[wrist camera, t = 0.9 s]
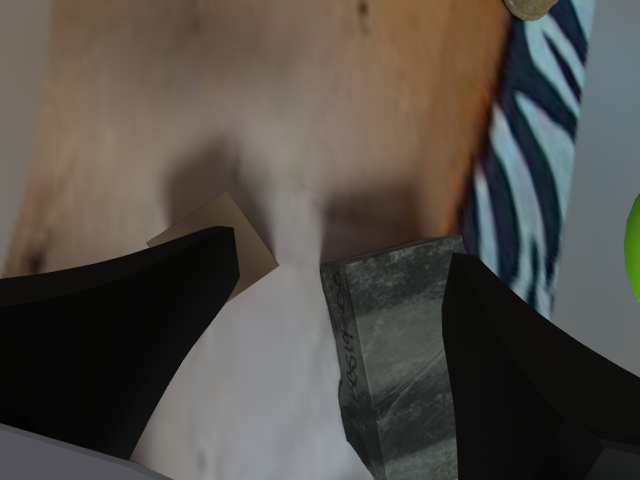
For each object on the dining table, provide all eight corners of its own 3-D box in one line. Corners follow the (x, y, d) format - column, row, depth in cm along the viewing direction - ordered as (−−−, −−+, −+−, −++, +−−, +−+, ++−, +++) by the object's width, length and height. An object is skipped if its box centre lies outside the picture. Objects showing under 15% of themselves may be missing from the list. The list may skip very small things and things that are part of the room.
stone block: (351, 463, 24) (373, 518, 19) (308, 262, 24) (319, 262, 19) (465, 426, 25) (515, 468, 20) (423, 238, 26) (461, 231, 21)
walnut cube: (215, 308, 23) (201, 320, 18) (171, 247, 23) (146, 242, 18) (276, 265, 24) (279, 265, 19) (234, 206, 24) (227, 191, 19)
